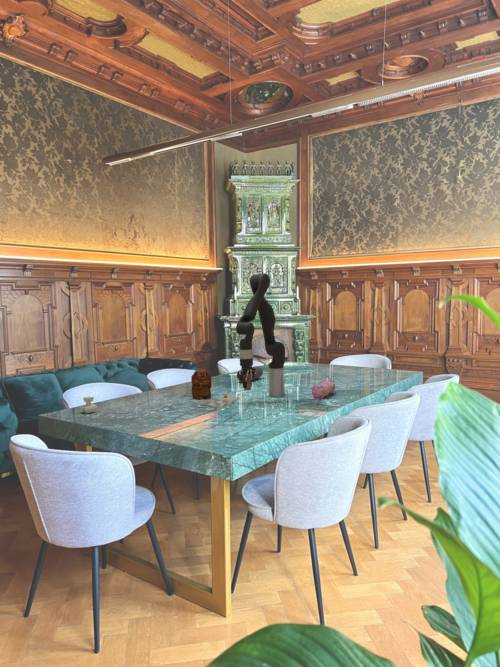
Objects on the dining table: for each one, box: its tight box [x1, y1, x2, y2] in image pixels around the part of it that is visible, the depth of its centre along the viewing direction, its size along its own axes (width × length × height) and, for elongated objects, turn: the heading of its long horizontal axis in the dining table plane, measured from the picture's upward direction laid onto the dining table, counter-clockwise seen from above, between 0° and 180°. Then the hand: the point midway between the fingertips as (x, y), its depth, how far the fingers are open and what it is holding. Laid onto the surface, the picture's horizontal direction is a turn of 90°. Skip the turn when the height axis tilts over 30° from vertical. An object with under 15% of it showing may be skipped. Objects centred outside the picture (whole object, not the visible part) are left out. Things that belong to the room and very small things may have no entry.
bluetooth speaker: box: [236, 365, 264, 383], centre depth 330 cm, size 23×9×10 cm, turn 147°
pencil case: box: [311, 378, 336, 399], centre depth 274 cm, size 21×9×9 cm, turn 151°
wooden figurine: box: [190, 368, 213, 401], centre depth 273 cm, size 12×6×18 cm, turn 121°
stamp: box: [79, 396, 98, 414], centre depth 243 cm, size 9×7×8 cm
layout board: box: [199, 398, 235, 409], centre depth 257 cm, size 14×14×1 cm
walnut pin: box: [243, 375, 252, 391], centre depth 257 cm, size 4×4×8 cm
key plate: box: [220, 391, 241, 402], centre depth 268 cm, size 8×8×4 cm
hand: (247, 387), depth 257 cm, fingers closed on walnut pin, 4 cm apart
